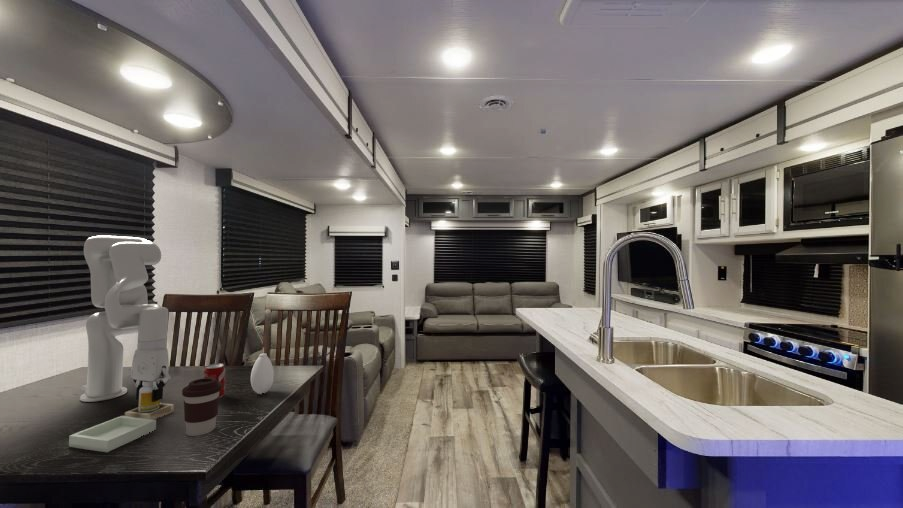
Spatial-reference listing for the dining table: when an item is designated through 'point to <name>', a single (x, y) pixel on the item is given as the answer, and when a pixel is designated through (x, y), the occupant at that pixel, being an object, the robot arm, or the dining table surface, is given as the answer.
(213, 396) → the coffee cup
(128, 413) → the socket collar
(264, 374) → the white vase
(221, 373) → the soda can
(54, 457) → the dining table surface
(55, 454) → the dining table surface
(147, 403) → the supplement bottle
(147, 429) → the tray
